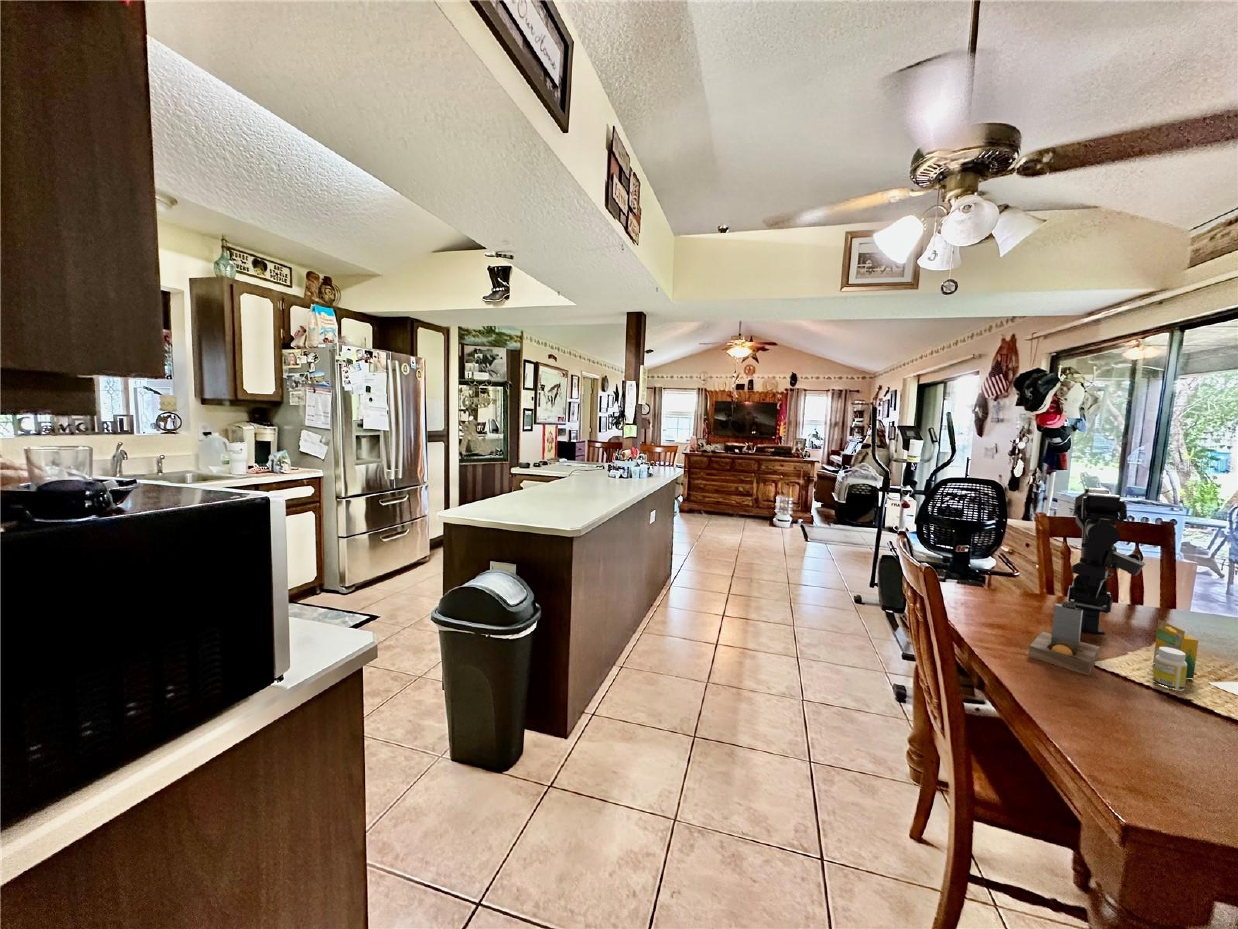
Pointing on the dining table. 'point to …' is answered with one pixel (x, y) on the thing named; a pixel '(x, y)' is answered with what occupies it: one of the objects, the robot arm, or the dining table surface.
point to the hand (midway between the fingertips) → (1093, 598)
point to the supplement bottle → (1170, 668)
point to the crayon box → (1177, 644)
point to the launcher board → (1076, 662)
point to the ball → (1062, 649)
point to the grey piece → (1067, 625)
